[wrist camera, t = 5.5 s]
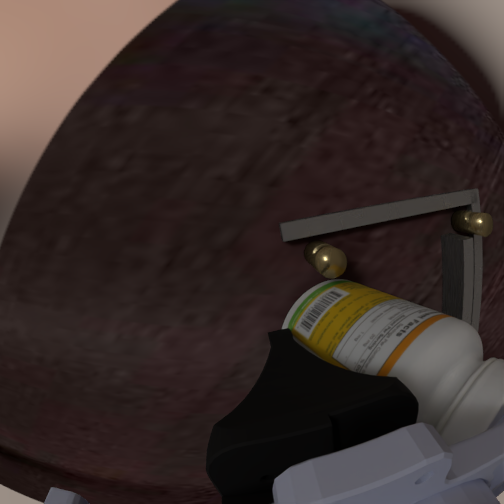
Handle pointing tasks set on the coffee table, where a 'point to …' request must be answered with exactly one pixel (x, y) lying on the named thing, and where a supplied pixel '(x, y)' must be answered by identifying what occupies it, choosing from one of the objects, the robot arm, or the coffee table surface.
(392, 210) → the frame
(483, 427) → the supplement bottle
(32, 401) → the coffee table surface
